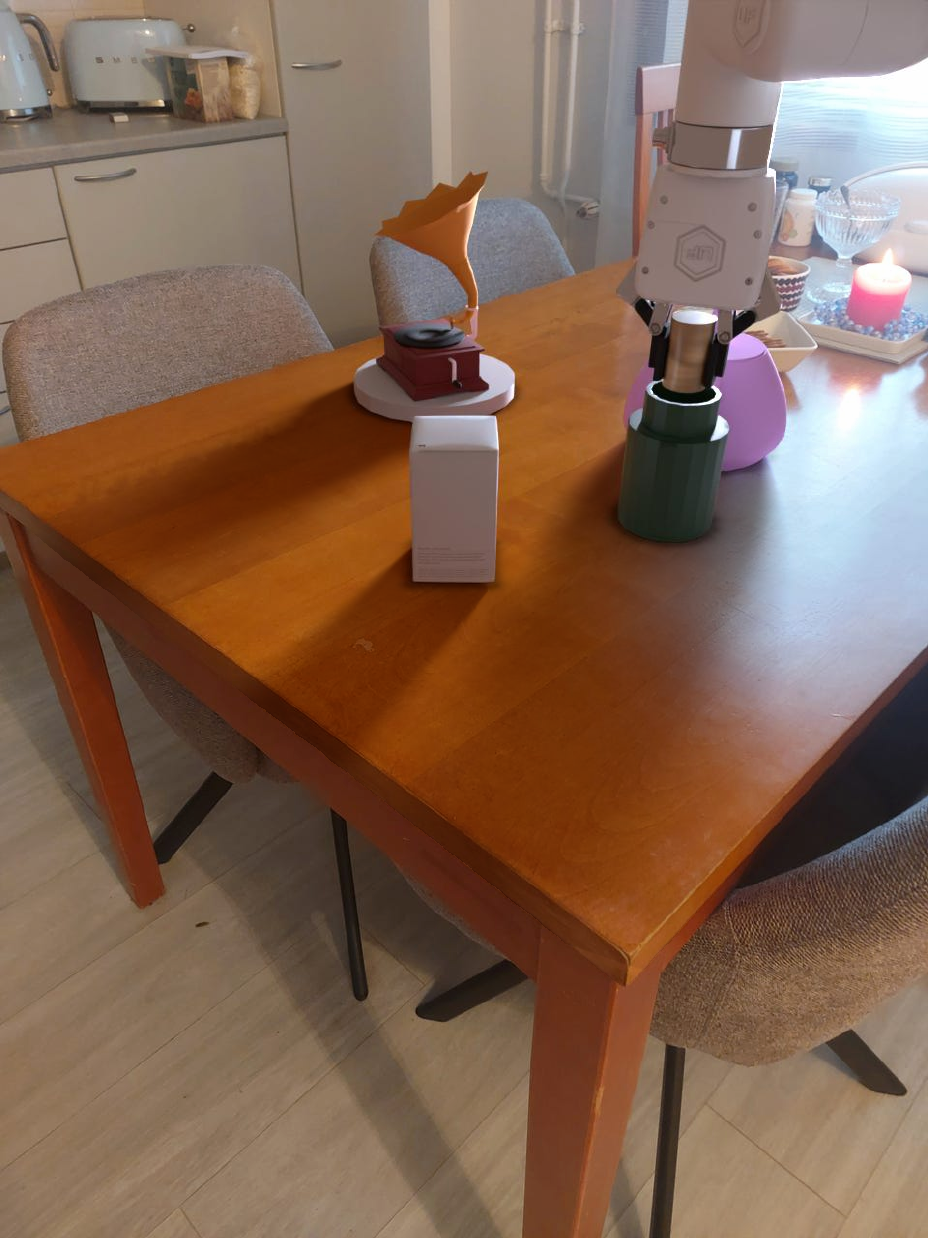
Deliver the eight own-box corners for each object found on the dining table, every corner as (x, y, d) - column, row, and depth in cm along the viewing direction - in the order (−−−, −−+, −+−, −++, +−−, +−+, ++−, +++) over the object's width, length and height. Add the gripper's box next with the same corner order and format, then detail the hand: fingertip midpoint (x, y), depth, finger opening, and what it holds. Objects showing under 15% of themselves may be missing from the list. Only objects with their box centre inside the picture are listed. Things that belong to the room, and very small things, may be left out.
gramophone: (475, 354, 125) (477, 155, 110) (543, 407, 110) (556, 184, 95) (334, 374, 118) (317, 166, 104) (385, 434, 103) (373, 199, 88)
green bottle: (717, 506, 89) (741, 381, 82) (702, 550, 83) (726, 417, 75) (629, 490, 92) (644, 367, 84) (607, 531, 85) (621, 401, 78)
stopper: (708, 380, 80) (720, 313, 77) (701, 395, 77) (713, 326, 74) (666, 374, 81) (676, 308, 78) (658, 389, 78) (667, 320, 75)
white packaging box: (495, 584, 78) (499, 450, 70) (411, 583, 78) (405, 450, 70) (494, 540, 84) (498, 413, 76) (415, 540, 84) (411, 413, 76)
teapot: (780, 498, 91) (812, 367, 83) (607, 477, 94) (620, 349, 86) (778, 406, 110) (803, 292, 102) (635, 391, 114) (648, 280, 106)
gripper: (601, 149, 68) (582, 381, 79) (831, 163, 63) (776, 409, 74) (625, 135, 74) (604, 354, 84) (837, 148, 69) (786, 378, 79)
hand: (684, 377), depth 79 cm, fingers closed on stopper, 3 cm apart
